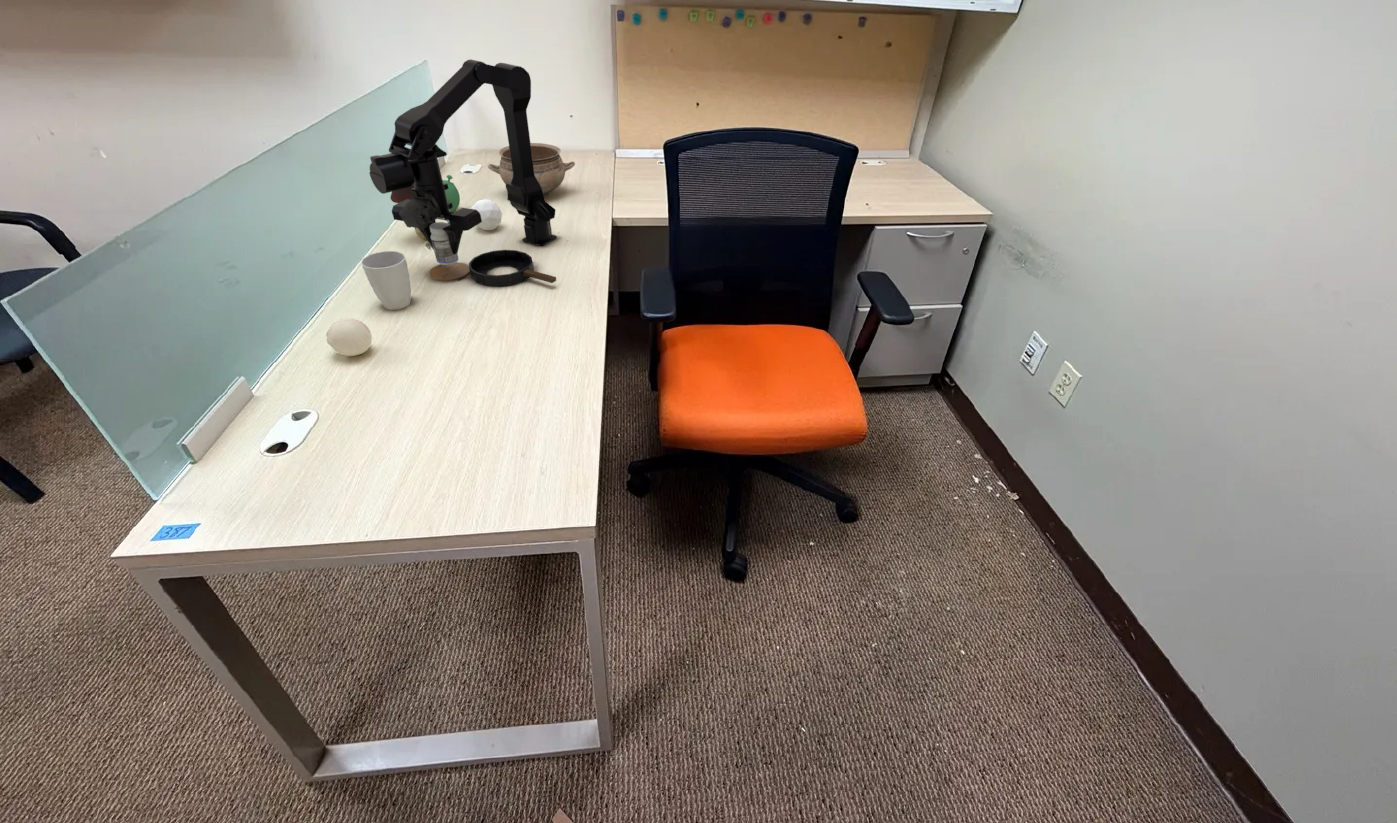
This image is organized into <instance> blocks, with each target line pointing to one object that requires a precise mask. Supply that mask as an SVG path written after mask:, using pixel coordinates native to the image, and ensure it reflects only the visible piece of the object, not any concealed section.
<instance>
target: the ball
mask: <svg viewBox="0 0 1397 823" xmlns="http://www.w3.org/2000/svg"><path fill="white" fill-rule="evenodd" d="M470 209H475V210H477V211H478V212H480V215H481V220H482V222H481V223H479V224H478V225H476V226H475V227H478V228H479V229H482V230H483V231H492V230H496V228H497V227H499V226H500V224H501V223H502V218H503V213H502V210H501V208H500V207H499V204H498V203H496V202H494V201H493V200H490V199H489V198H486V199H479V200H477V201H476V202H475V203H474V204H473V205H472V206H471V208H470Z"/></svg>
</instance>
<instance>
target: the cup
mask: <svg viewBox="0 0 1397 823" xmlns="http://www.w3.org/2000/svg"><path fill="white" fill-rule="evenodd" d="M360 264H361V266H362V269H363V271H364V274H365V276H366V278H367V281H368V283H369V285H370V287H371V288H372V290H373V292H374V294H375V296H376V298H377V299H378V300H379V301H380V303H381V304H382V305H383V307H384V308H385V309H387V310H389V311H390V310H392V311H397V310H403V309H404V308H407V307H408V306H410V304H411V297H412V288H411V277H410V272H409V267H408V263H407V258H406V255H405V254H404V253H403V252H400V251H395V250H384V251H378V252H374V253H371V254H368V255H366V256H365V257H363V258H362V260H361V261H360Z"/></svg>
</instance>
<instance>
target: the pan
mask: <svg viewBox="0 0 1397 823" xmlns="http://www.w3.org/2000/svg"><path fill="white" fill-rule="evenodd" d="M468 266H469V270H470V274H469V275H470V279H472V281H473V282H474V283H476V284H478V285H481V286H484V287H496V288H501V287H510V286H515V285H517V284H520V283H523V282H525V281H527V280H528V279H531V278H532V279H536V280H538V281H539V280H540V281H543V282H546V283H550V284H554V283H555V282H556V281H557V277H556V276H554V275H550V274H547V273H544V272H540V271H537V270H535V267H534V262H533V257H532V256H531V255H530V254H528V253H526V252H523V251H520V250H515V249H498V250H497V249H496V250H490V251H486V252H482V253H480V254H479V255H476V256H475V257H473V258H472V259H471V260H470V261H469V262H468ZM500 267H510V268H513V269H516V270H517V271H513V272H511V273H506V274H488V273H489V272H490V271H491V270H493V269H497V268H500Z"/></svg>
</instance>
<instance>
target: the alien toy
mask: <svg viewBox="0 0 1397 823" xmlns="http://www.w3.org/2000/svg"><path fill="white" fill-rule="evenodd" d="M446 178H447V179H442V180H443V183H446V184H448V189H447V190H445V193H446V197H447V201H448V202H450V203H452V205H453V208H451V209H449V210H450V211H449V212H456V211H457V209H458V208H459V207H460V202H461V198H460V193H459V190H458V188H457V186H456V185H455V183H454V182H451V180H452V179H453V176H452V175H450V174H448V175H446Z"/></svg>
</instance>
